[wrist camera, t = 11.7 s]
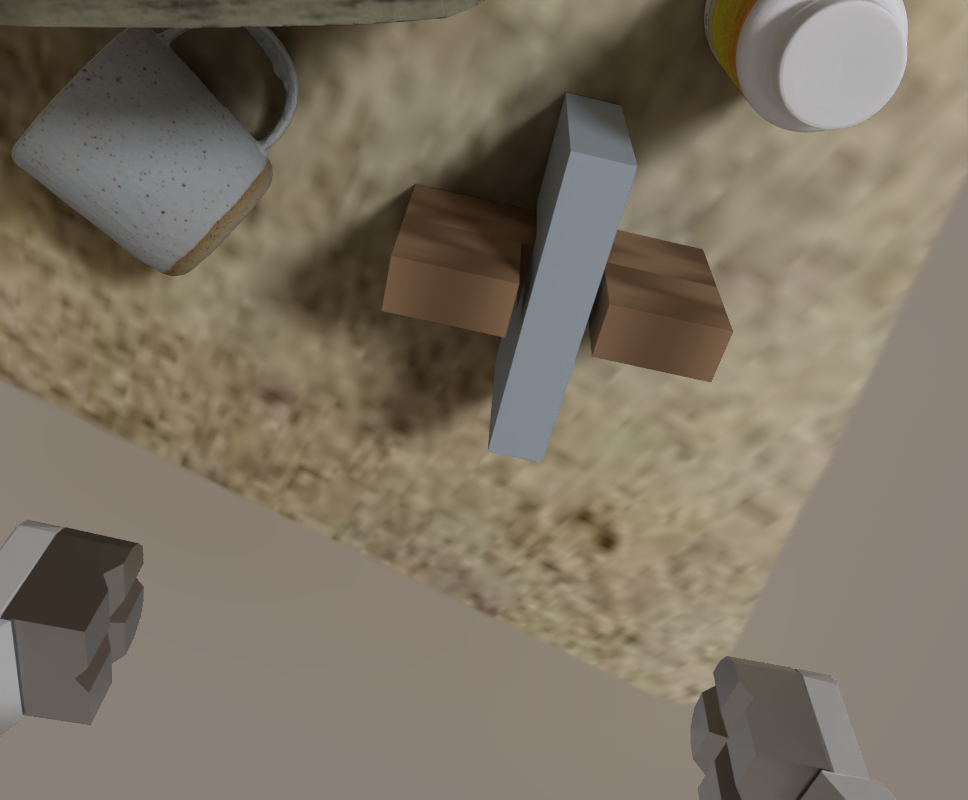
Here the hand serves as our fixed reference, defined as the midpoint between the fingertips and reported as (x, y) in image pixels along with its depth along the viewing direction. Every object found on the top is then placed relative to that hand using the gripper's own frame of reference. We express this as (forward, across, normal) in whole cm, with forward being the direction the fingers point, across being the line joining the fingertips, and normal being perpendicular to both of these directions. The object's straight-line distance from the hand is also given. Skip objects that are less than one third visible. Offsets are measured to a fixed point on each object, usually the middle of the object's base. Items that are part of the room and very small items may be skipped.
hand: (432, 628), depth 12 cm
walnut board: (+31, -4, +7) cm, 32 cm away
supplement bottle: (+31, -10, -5) cm, 33 cm away
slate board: (+31, -4, +7) cm, 32 cm away
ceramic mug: (+31, +13, +4) cm, 34 cm away
